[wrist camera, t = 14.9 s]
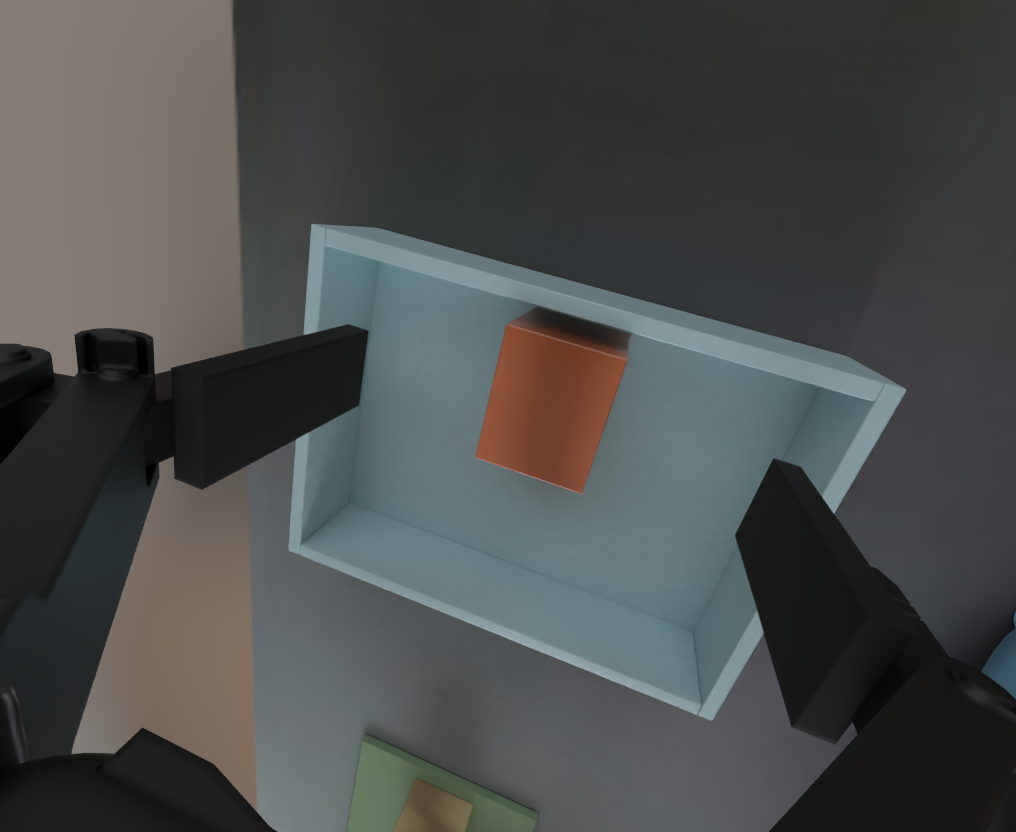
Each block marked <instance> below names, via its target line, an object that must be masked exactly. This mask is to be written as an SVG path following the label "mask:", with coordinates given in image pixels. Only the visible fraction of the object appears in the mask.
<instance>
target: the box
mask: <svg viewBox="0 0 1016 832" xmlns="http://www.w3.org/2000/svg"><path fill="white" fill-rule="evenodd" d="M534 308H540V309H543V310H547V311H550V312H554V313H557V314H561V315H564V316H568V317H571V318H575V319H578V320H582V321H585V322H589V323H592V324H596V325H599V326H603V327H606V328H610V329H613V330H617V331H620V332H624V333H627V334H630V335H631V342H630V349H629V355H628V361H627V364H626V367H625V370H624V373H623V376H622V379H621V382H620V385H619V387H618V390H617V393H616V396H615V399H614V402H613V405H612V408H611V411H610V414H609V417H608V420H607V422H606V425H605V428H604V431H603V434H602V437H601V440H600V443H599V446H598V449H597V452H596V455H595V458H594V460H593V463H592V466H591V469H590V472H589V475H588V478H587V481H586V484H585V487H584V490H583V492H582V493H581V494H579V493H576V492H573V491H570V490H568V489H565V488H562V487H559V486H556V485H553V484H550V483H547V482H544V481H541V480H539V479H536V478H533V477H530V476H527V475H524V474H521V473H518V472H515V471H512V470H509V469H507V468H504V467H501V466H498V465H495V464H492V463H489V462H486V461H483V460H480V459H478V458H476V456H475V455H476V451H477V447H478V442H479V438H480V434H481V430H482V425H483V421H484V417H485V412H486V408H487V404H488V400H489V395H490V391H491V387H492V383H493V378H494V374H495V370H496V366H497V361H498V357H499V353H500V348H501V344H502V340H503V336H504V331H505V327H506V324H507V323H509V322H511V321H513V320H514V319H516V318H518V317H520V316H522V315H523V314H525V313H527V312H529V311H530V310H532V309H534ZM347 324H350V325H353V326H356V327H359V328H362V329H366V330H369V333H368V340H367V348H366V356H365V364H364V372H363V380H362V387H361V395H360V403H359V406H357V407H355V408H354V409H352V410H350V411H348V412H346V413H344V414H342V415H341V416H339V417H337V418H335V419H333V420H331V421H329V422H327V423H326V424H324V425H322V426H320V427H318V428H316V429H314V430H313V431H311V432H309V433H307V434H305V435H303V436H301V437H299V438H298V439H296V448H295V462H294V476H293V490H292V504H291V518H290V532H289V546H288V550H289V551H292V552H294V553H297V554H300V555H302V556H304V557H307V558H309V559H312V560H314V561H317V562H319V563H322V564H324V565H327V566H329V567H331V568H334V569H336V570H339V571H341V572H344V573H346V574H349V575H351V576H354V577H356V578H359V579H361V580H364V581H366V582H369V583H371V584H374V585H376V586H379V587H381V588H384V589H386V590H389V591H391V592H393V593H396V594H398V595H401V596H403V597H406V598H408V599H411V600H413V601H416V602H418V603H421V604H423V605H426V606H428V607H431V608H433V609H436V610H438V611H441V612H443V613H446V614H448V615H451V616H453V617H456V618H458V619H460V620H463V621H465V622H468V623H470V624H473V625H475V626H478V627H480V628H483V629H485V630H488V631H490V632H493V633H495V634H498V635H500V636H503V637H505V638H508V639H510V640H513V641H515V642H518V643H520V644H522V645H525V646H527V647H530V648H532V649H535V650H537V651H540V652H542V653H545V654H547V655H550V656H552V657H555V658H557V659H560V660H562V661H565V662H567V663H570V664H572V665H575V666H577V667H580V668H582V669H584V670H587V671H589V672H592V673H594V674H597V675H599V676H602V677H604V678H607V679H609V680H612V681H614V682H617V683H619V684H622V685H624V686H627V687H629V688H632V689H634V690H637V691H639V692H642V693H644V694H646V695H649V696H651V697H654V698H656V699H659V700H661V701H664V702H666V703H669V704H671V705H674V706H676V707H679V708H681V709H684V710H686V711H689V712H691V713H694V714H698V716H701V717H703V718H706V719H708V720H711V721H712V720H713V719H714V717H715V715H716V713H717V712H718V710H719V708H720V707H721V705H722V703H723V702H724V700H725V698H726V696H727V695H728V693H729V691H730V690H731V688H732V686H733V685H734V683H735V681H736V680H737V678H738V676H739V674H740V673H741V671H742V669H743V668H744V666H745V664H746V663H747V661H748V659H749V657H750V656H751V654H752V652H753V651H754V649H755V647H756V646H757V644H758V642H759V640H760V639H761V637H762V635H763V634H764V632H763V629H762V625H761V622H760V618H759V615H758V612H757V608H756V605H755V602H754V598H753V595H752V591H751V588H750V585H749V581H748V578H747V575H746V571H745V568H744V565H743V561H742V558H741V554H740V551H739V548H738V544H737V541H736V538H735V534H736V532H737V530H738V528H739V526H740V524H741V522H742V520H743V518H744V516H745V514H746V512H747V510H748V508H749V506H750V504H751V502H752V500H753V498H754V496H755V494H756V492H757V490H758V488H759V486H760V484H761V482H762V480H763V478H764V476H765V474H766V472H767V470H768V468H769V466H770V464H771V462H772V460H773V458H775V459H778V460H782V461H785V462H788V463H791V464H794V465H797V466H801V467H802V469H803V470H804V472H805V473H806V474H807V476H808V477H809V479H810V480H811V482H812V483H813V485H814V486H815V487H816V489H817V490H818V492H819V493H820V495H821V496H822V497H823V499H824V500H825V502H826V503H827V505H828V506H829V508H830V509H831V510H832V512H833V513H835V511H836V510H837V508H838V506H839V504H840V503H841V501H842V499H843V498H844V496H845V494H846V493H847V491H848V489H849V487H850V486H851V484H852V482H853V481H854V479H855V477H856V476H857V474H858V472H859V470H860V469H861V467H862V465H863V464H864V462H865V460H866V459H867V457H868V455H869V453H870V452H871V450H872V448H873V447H874V445H875V443H876V442H877V440H878V438H879V437H880V435H881V433H882V431H883V430H884V428H885V426H886V425H887V423H888V421H889V420H890V418H891V416H892V414H893V413H894V411H895V409H896V408H897V406H898V404H899V403H900V401H901V399H902V397H903V396H904V394H905V392H906V389H905V388H903V387H901V386H900V385H898V384H896V383H894V382H892V381H891V380H889V379H887V378H885V377H883V376H882V375H880V374H878V373H876V372H874V371H873V370H871V369H869V368H867V367H865V366H864V365H862V364H860V363H858V362H856V361H855V360H853V359H851V358H849V357H847V356H845V355H841V354H837V353H834V352H830V351H826V350H823V349H819V348H815V347H812V346H808V345H804V344H801V343H797V342H793V341H790V340H786V339H782V338H779V337H775V336H771V335H768V334H764V333H760V332H757V331H753V330H749V329H746V328H742V327H738V326H735V325H731V324H727V323H724V322H720V321H716V320H713V319H709V318H705V317H702V316H698V315H694V314H691V313H687V312H683V311H680V310H676V309H672V308H669V307H665V306H662V305H658V304H654V303H651V302H647V301H643V300H640V299H636V298H632V297H629V296H625V295H621V294H618V293H614V292H610V291H607V290H603V289H599V288H596V287H592V286H588V285H585V284H581V283H577V282H574V281H570V280H566V279H563V278H559V277H555V276H552V275H548V274H544V273H541V272H537V271H533V270H530V269H526V268H522V267H519V266H515V265H511V264H508V263H504V262H500V261H497V260H493V259H489V258H486V257H482V256H479V255H475V254H471V253H468V252H464V251H460V250H457V249H453V248H449V247H446V246H442V245H438V244H435V243H431V242H427V241H424V240H420V239H416V238H413V237H409V236H405V235H402V234H398V233H394V232H391V231H387V230H383V229H380V228H371V227H355V226H339V225H323V224H312V225H311V238H310V252H309V266H308V280H307V294H306V308H305V322H304V335H306V334H310V333H314V332H319V331H323V330H327V329H331V328H335V327H339V326H343V325H347Z"/></svg>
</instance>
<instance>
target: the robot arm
mask: <svg viewBox="0 0 1016 832" xmlns="http://www.w3.org/2000/svg"><path fill="white" fill-rule="evenodd" d="M368 333H369V330H366V329H362V328H359V327H356V326H353V325H350V324H347V325H343V326H339V327H335V328H331V329H327V330H323V331H319V332H314V333H310V334H306V335H302V336H298V337H294V338H290V339H286V340H282V341H278V342H274V343H270V344H266V345H262V346H258V347H254V348H250V349H246V350H242V351H238V352H234V353H230V354H226V355H221V356H217V357H214V358H209V359H205V360H201V361H197V362H193V363H189V364H185V365H181V366H177V367H173V368H171V371H167V372H163V373H159V374H155V369H154V349H153V348H154V346H153V338H152V337H151V336H149V335H147V334H145V333H141V332H138V331H133V330H126V329H112V328H105V329H91V330H86V331H81V332H79V333H77V334H75V344H76V353H77V362H78V373H77V375H76V376H75V377H73V376H68V375H62V374H56V373H54V372H53V364H52V357H51V354H50V352H48V351H46V350H43V349H40V348H35V347H30V346H22V345H20V344H0V832H277V831H275V830H274V829H272V828H271V827H270V826H269V825H268V824H267V823H266V822H265V821H264V820H263V818H262V817H261V816H260V815H259V814H258V813H257V812H256V811H255V810H254V808H253V807H252V806H251V805H250V804H249V803H248V802H247V801H246V800H245V798H244V797H243V796H242V795H241V794H240V793H239V792H238V791H237V789H236V788H235V787H234V786H233V785H232V784H231V783H230V782H229V781H228V779H227V778H226V777H225V776H224V775H223V774H222V773H221V772H220V771H219V769H218V768H217V767H216V766H215V765H214V764H212V763H210V762H208V761H206V760H205V759H203V758H201V757H198V756H197V755H195V754H193V753H191V752H189V751H187V750H185V749H183V748H181V747H179V746H177V745H175V744H173V743H172V742H169V741H168V740H166V739H164V738H162V737H160V736H158V735H156V734H154V733H152V732H150V731H148V730H146V729H144V728H142V729H141V730H139V731H138V732H137V733H136V734H135V735H134V736H133V737H132V738H131V739H130V740H129V741H128V742H127V743H126V744H125V745H124V746H122V748H120V749H119V750H118V751H117V752H116V753H115V754H108V753H79V754H71V753H72V747H73V744H74V740H75V737H76V734H77V731H78V728H79V725H80V722H81V719H82V715H83V712H84V709H85V706H86V703H87V700H88V697H89V694H90V691H91V687H92V684H93V681H94V678H95V675H96V672H97V669H98V666H99V663H100V660H101V657H102V653H103V650H104V647H105V644H106V641H107V638H108V635H109V632H110V628H111V626H112V622H113V619H114V616H115V613H116V610H117V607H118V604H119V601H120V598H121V594H122V591H123V588H124V585H125V582H126V579H127V576H128V572H129V569H130V566H131V564H132V560H133V557H134V554H135V551H136V548H137V545H138V541H139V539H140V535H141V532H142V529H143V526H144V523H145V520H146V517H147V514H148V511H149V508H150V505H151V501H152V498H153V495H154V492H155V489H156V486H157V483H158V480H159V462H161V461H163V460H166V459H168V458H170V457H173V456H174V473H175V479H177V480H179V481H182V482H184V483H187V484H189V485H192V486H194V487H196V488H199V489H201V490H202V489H204V488H206V487H208V486H210V485H212V484H214V483H215V482H217V481H219V480H221V479H223V478H225V477H227V476H229V475H230V474H232V473H234V472H236V471H238V470H240V469H242V468H243V467H245V466H247V465H249V464H251V463H253V462H255V461H257V460H258V459H260V458H262V457H264V456H266V455H268V454H270V453H271V452H273V451H275V450H277V449H279V448H281V447H283V446H285V445H286V444H288V443H290V442H292V441H294V440H296V439H298V438H299V437H301V436H303V435H305V434H307V433H309V432H311V431H313V430H314V429H316V428H318V427H320V426H322V425H324V424H326V423H327V422H329V421H331V420H333V419H335V418H337V417H339V416H341V415H342V414H344V413H346V412H348V411H350V410H352V409H354V408H355V407H357V406H359V403H360V395H361V387H362V380H363V372H364V364H365V356H366V348H367V340H368ZM735 538H736V541H737V544H738V548H739V551H740V554H741V558H742V561H743V565H744V568H745V571H746V575H747V578H748V581H749V585H750V588H751V591H752V595H753V598H754V602H755V605H756V608H757V612H758V615H759V618H760V622H761V625H762V629H763V632H764V635H765V639H766V642H767V645H768V649H769V652H770V655H771V659H772V662H773V666H774V669H775V672H776V676H777V679H778V682H779V686H780V689H781V693H782V696H783V699H784V703H785V706H786V709H787V713H788V716H789V719H790V723H791V726H792V727H793V728H795V729H798V730H800V731H803V732H805V733H808V734H810V735H813V736H815V737H817V738H820V739H822V740H825V741H827V742H830V743H832V744H836V743H837V742H838V740H839V739H840V738H841V736H842V735H843V733H844V732H845V731H846V729H847V728H848V727H849V725H850V724H851V723H852V722H853V724H854V726H855V729H856V731H857V733H858V735H857V736H856V737H855V738H854V739H853V740H852V741H851V743H850V744H849V745H848V746H847V747H846V748H845V749H844V750H843V751H842V752H841V754H840V755H839V756H838V757H837V758H836V759H835V760H834V761H833V762H832V763H831V764H830V766H829V767H828V768H827V769H826V770H825V771H824V772H823V773H822V774H821V775H820V776H819V778H818V779H817V780H816V781H815V782H814V783H813V784H812V785H811V786H810V787H809V789H808V790H807V791H806V792H805V793H804V794H803V795H802V796H801V797H800V798H799V799H798V801H797V802H796V803H795V804H794V805H793V806H792V807H791V808H790V809H789V810H788V812H787V813H786V814H785V815H784V816H783V817H782V818H781V819H780V820H779V821H778V822H777V824H776V825H775V826H774V827H773V828H772V829H771V830H770V831H769V832H1016V699H1015V698H1014V697H1013V696H1012V695H1011V694H1010V693H1009V692H1008V691H1007V690H1006V689H1004V688H1003V687H1002V686H1000V685H999V684H998V683H996V682H995V681H994V680H992V679H991V678H990V677H988V676H987V675H985V674H984V673H982V672H980V671H978V670H977V669H975V668H973V667H971V666H970V665H968V664H966V663H963V662H961V661H959V660H956V659H954V658H951V657H949V656H948V654H947V653H946V652H945V650H944V649H943V648H942V646H941V645H940V644H939V642H938V641H937V639H936V638H935V637H934V635H933V634H932V633H931V631H930V630H929V629H928V627H927V626H926V624H925V623H924V622H923V621H921V620H920V616H919V615H918V614H917V612H916V611H915V610H914V608H913V607H911V606H910V603H909V601H908V600H907V599H906V597H905V596H904V595H903V593H902V592H901V590H900V589H899V588H898V586H896V585H895V584H894V583H893V582H892V581H891V580H890V579H888V578H887V577H886V576H885V575H884V574H883V573H881V572H880V571H879V570H878V569H876V568H873V567H871V566H870V565H869V564H868V562H867V561H866V559H865V558H864V556H863V555H862V554H861V552H860V551H859V549H858V548H857V546H856V545H855V543H854V542H853V541H852V539H851V538H850V536H849V535H848V533H847V532H846V531H845V529H844V528H843V526H842V525H841V523H840V522H839V520H838V519H837V518H836V516H835V515H834V513H833V512H832V510H831V509H830V508H829V506H828V505H827V503H826V502H825V500H824V499H823V497H822V496H821V495H820V493H819V492H818V490H817V489H816V487H815V486H814V485H813V483H812V482H811V480H810V479H809V477H808V476H807V474H806V473H805V472H804V470H803V469H802V467H801V466H797V465H794V464H791V463H788V462H785V461H782V460H778V459H775V458H773V460H772V462H771V464H770V466H769V468H768V470H767V472H766V474H765V476H764V478H763V480H762V482H761V484H760V486H759V488H758V490H757V492H756V494H755V496H754V498H753V500H752V502H751V504H750V506H749V508H748V510H747V512H746V514H745V516H744V518H743V520H742V522H741V524H740V526H739V528H738V530H737V532H736V534H735Z"/></svg>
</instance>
